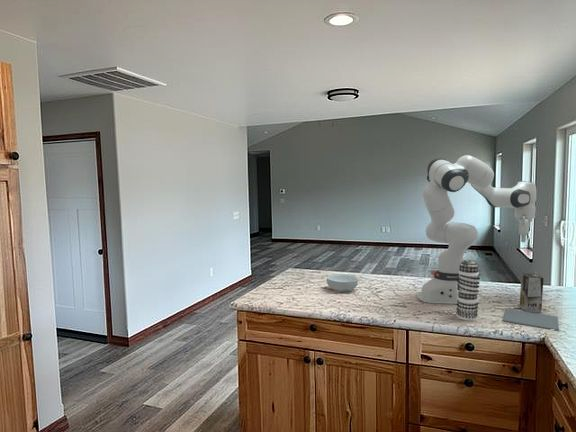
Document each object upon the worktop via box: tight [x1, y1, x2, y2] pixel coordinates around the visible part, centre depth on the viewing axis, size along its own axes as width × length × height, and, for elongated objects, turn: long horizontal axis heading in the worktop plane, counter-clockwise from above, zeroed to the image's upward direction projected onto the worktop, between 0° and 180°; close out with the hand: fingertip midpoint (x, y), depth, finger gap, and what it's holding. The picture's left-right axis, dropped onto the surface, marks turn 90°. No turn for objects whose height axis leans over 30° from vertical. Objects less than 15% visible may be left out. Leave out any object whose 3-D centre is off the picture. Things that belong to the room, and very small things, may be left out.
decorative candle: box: [455, 259, 481, 321], centre depth 172 cm, size 9×9×25 cm
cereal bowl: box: [326, 273, 359, 293], centre depth 216 cm, size 17×17×7 cm
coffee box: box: [519, 273, 544, 314], centre depth 183 cm, size 9×6×16 cm
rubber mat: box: [501, 308, 560, 331], centre depth 170 cm, size 18×20×1 cm
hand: (523, 241), depth 197 cm, fingers closed
